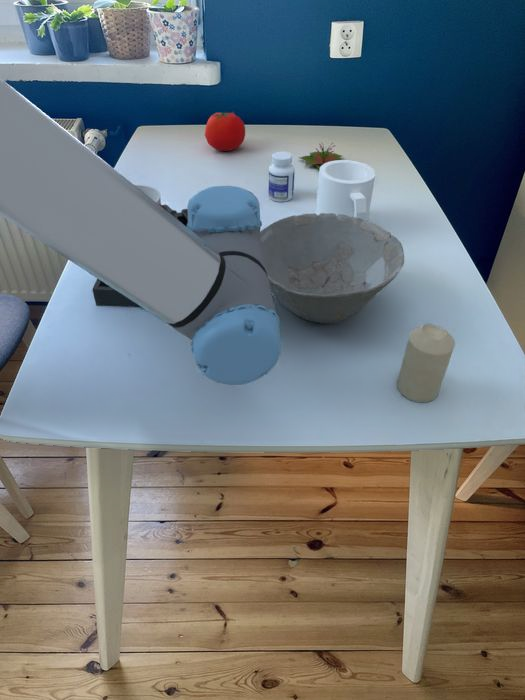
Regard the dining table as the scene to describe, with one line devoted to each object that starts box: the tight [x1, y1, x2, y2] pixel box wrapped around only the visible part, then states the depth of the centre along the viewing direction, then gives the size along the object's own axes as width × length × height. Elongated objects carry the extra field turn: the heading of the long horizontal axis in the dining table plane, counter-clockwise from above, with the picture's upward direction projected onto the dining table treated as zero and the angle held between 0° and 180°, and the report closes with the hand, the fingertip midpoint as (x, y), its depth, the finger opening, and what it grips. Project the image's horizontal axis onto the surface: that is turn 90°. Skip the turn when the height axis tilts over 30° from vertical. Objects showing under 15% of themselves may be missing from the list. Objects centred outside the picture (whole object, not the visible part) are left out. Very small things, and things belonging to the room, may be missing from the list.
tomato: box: [204, 111, 246, 152], centre depth 129 cm, size 9×10×8 cm
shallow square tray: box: [91, 278, 142, 308], centre depth 88 cm, size 13×13×3 cm
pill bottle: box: [268, 151, 296, 203], centre depth 110 cm, size 5×5×9 cm
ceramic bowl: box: [260, 213, 405, 325], centre depth 82 cm, size 22×23×10 cm
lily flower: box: [298, 142, 345, 170], centre depth 125 cm, size 12×12×5 cm
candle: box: [396, 323, 456, 403], centre depth 69 cm, size 6×6×10 cm
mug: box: [314, 159, 376, 221], centre depth 100 cm, size 14×10×11 cm
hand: (124, 208), depth 85 cm, fingers closed on cup, 8 cm apart
